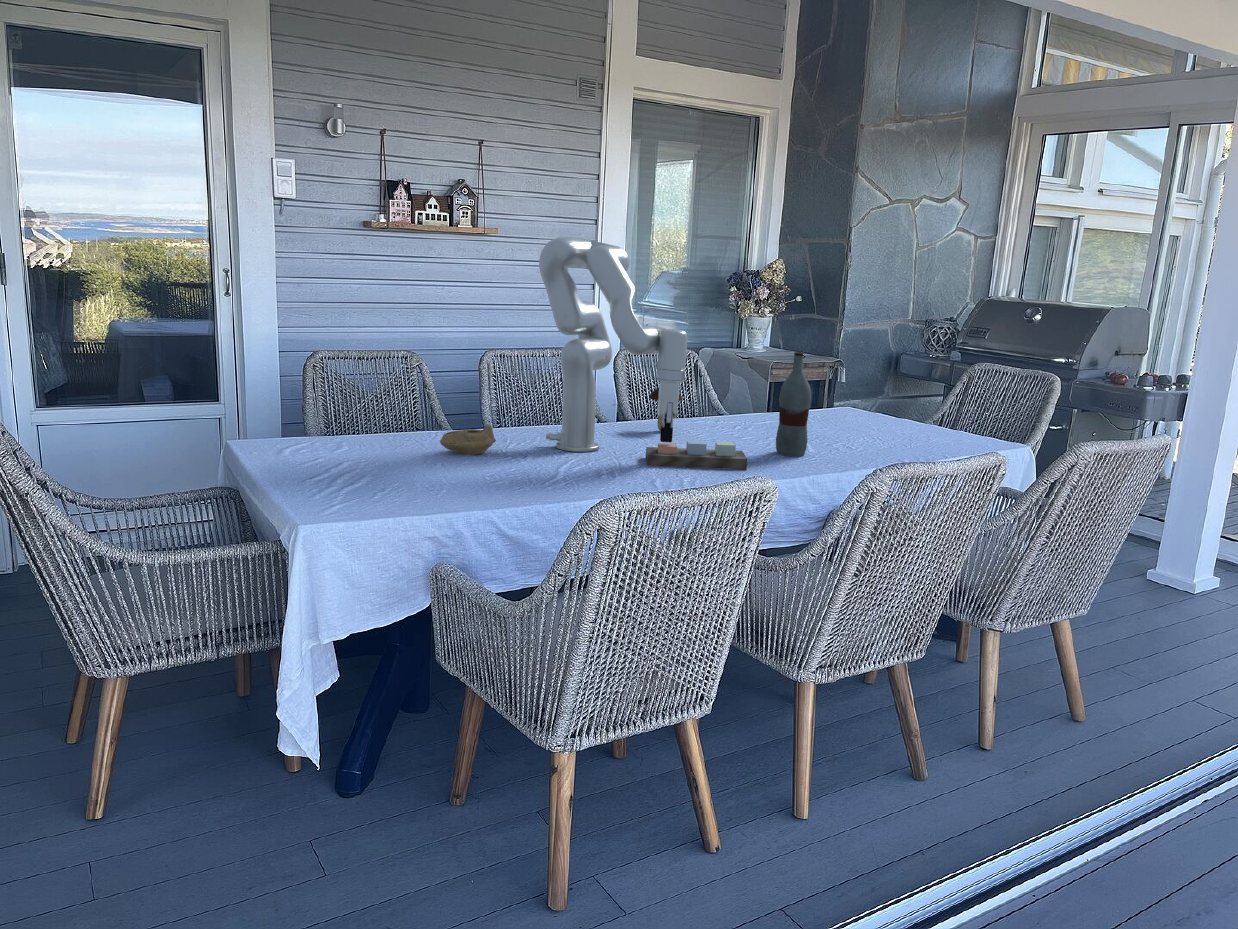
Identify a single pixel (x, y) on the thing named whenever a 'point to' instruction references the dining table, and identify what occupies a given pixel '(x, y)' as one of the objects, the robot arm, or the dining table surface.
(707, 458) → the console
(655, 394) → the decorative mushroom
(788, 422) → the bottle
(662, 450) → the terracotta button
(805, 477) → the dining table surface
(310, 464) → the dining table surface
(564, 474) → the dining table surface
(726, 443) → the sage button
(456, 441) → the oil lamp
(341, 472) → the dining table surface
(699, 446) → the slate button
